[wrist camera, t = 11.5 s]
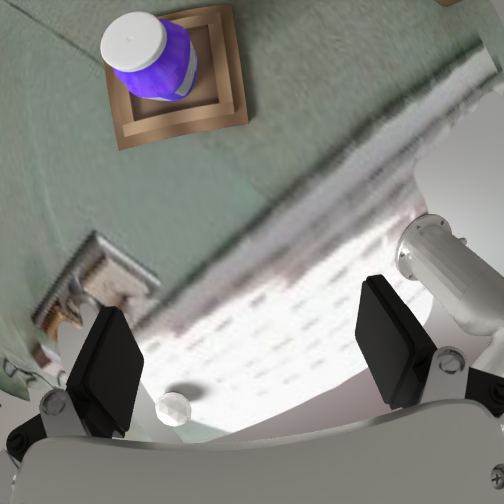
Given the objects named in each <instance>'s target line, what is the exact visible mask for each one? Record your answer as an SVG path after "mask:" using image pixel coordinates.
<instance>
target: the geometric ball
mask: <svg viewBox="0 0 504 504" xmlns="http://www.w3.org/2000/svg"><path fill="white" fill-rule="evenodd" d="M155 409H156V413H157V416H158V418H159V419H160V420H161V421H162V422H163V423H165V424H166V425H170V426H174V427H175V426H178V425H182V424H184V423H185V422H186V421H188V420H189V419H190V417H191V406H190V403H189V400H187V399H186V398H185V397H184V396H183V395H182V394H179V393H174V392H170V393H165V394H163V395H162V396H161V397H160V398H159V399H158V400H157V403H156V407H155Z"/></svg>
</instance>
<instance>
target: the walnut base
mask: <svg viewBox="0 0 504 504" xmlns="http://www.w3.org/2000/svg"><path fill="white" fill-rule="evenodd" d="M156 18H159V19H164V20H168V21H170V22H172V23H174V24H178V25H180V26H182V27H183V28H184V29H185V30H186V31H187V32H188V34H189V37H190V40H191V43H192V45H193V47H194V49H195V51H196V53H197V57H198V70H197V77H196V81H195V84H194V87H193V89H192V91H191V92H190V94H189V95H188V96H186V97H185V98H183V99H181V100H175V101H161V100H154V99H147V98H141V97H138V96H136V95H134V94H133V93H131V92H130V91H129V90H128V88H127V87H126V85H125V83H124V82H122V81H121V80H120V79H119V78H118V77H117V76H116V74H115V72H114V70H113V67H112V66H110V65H109V64H108V63H107V62H106V61H105V60H104V65H105V73H106V81H107V88H108V94H109V100H110V106H111V112H112V118H113V123H114V128H115V133H116V138H117V143H118V148H119V151H120V150H123V149H127V148H130V147H134V146H138V145H142V144H146V143H150V142H154V141H158V140H163V139H167V138H171V137H176V136H181V135H186V134H191V133H196V132H201V131H207V130H213V129H219V128H225V127H231V126H238V125H245V124H249V122H248V115H247V108H246V100H245V93H244V86H243V79H242V72H241V65H240V58H239V51H238V44H237V38H236V31H235V24H234V18H233V11H232V5H231V4H224V5H216V6H209V7H202V8H196V9H191V10H186V11H181V12H176V13H172V14H167V15H163V16H159V17H156ZM103 35H104V34H102V35H101V36H102V38H103Z"/></svg>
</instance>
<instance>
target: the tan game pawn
mask: <svg viewBox="0 0 504 504" xmlns="http://www.w3.org/2000/svg"><path fill="white" fill-rule="evenodd" d="M435 1H436V2H437V3H439V4H440V5H442V6H446V7H447V6H451V5H453V4H455V3H457V2H460V1H462V0H435Z"/></svg>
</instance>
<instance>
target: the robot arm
mask: <svg viewBox="0 0 504 504" xmlns="http://www.w3.org/2000/svg"><path fill="white" fill-rule="evenodd" d="M466 243H467V241H466V239H465V238H460V239H458V238H456V237H455V236H454V235H452V232H451V228H450V226H449V224H448V222H447V221H446V220H445V219H444V218H442V217H441V216H439V215H435V214H428V215H424V216H422V217H420V218H418V219H416V220H415V221H414V222H413V223H412V224H410V226H409V227H408V228H407V229H406V230H405V232H404V233H403V235H402V236H401V239H400V241H399V243H398V246H397V249H396V266H397V268H398V271H399V272H400V273H401V274H402V275H403V276H404V277H405V278H406V279H408V280H413V281H417V280H419V281H420V282H421V283H422V284H423V285H424V286H425V287H426V288H427V289H428V291H429V292H430V293H431V294H432V295H433V296H434V297H435V298H436V300H437V301H438V302H439V303H440V304H441V305H442V306H443V308H444V309H445V310H446V311H447V312H448V313H449V315H450V316H451V317H452V318H453V319H454V321H455V322H456V323H457V324H458V326H459V327H460V328H461V329H462V330H463V331H464V332H466V333H467V334H469V335H473V336H492V339H491V341H490V343H489V344H488V346H487V347H486V349H485V350H484V351H483V353H482V354H481V355H480V356H479V358H478V359H477V360H476V361H475V362H474V363H473V365H472V366H471V367H469V361H468V359H467V356H466V355H465V354H464V353H463V352H462V351H461V350H459V349H458V348H455V347H451V346H445V347H441V348H439V349H437V347H436V346H435V344H434V343H433V341H432V340H431V338H430V337H429V335H428V334H427V333H426V331H425V330H424V328H423V327H422V325H421V324H420V323H419V321H418V320H417V318H416V317H415V316H414V314H413V313H412V312H411V310H410V309H409V308H408V306H407V305H406V304H404V302H403V301H402V300H401V298H400V297H399V296H398V294H397V293H396V292H395V290H394V289H393V288H392V286H391V285H390V284H389V283H388V281H387V280H386V279H385V277H384V276H383V275H381V274H379V275H373V276H368V277H367V278H366V281H363V283H362V289H361V297H360V304H359V310H358V317H357V323H356V329H355V338H356V341H357V343H358V345H359V347H360V349H361V351H362V354H363V356H364V358H365V360H366V362H367V364H368V367H369V369H370V371H371V373H372V376H373V378H374V380H375V382H376V384H377V387H378V389H379V391H380V394H381V396H382V398H383V401H384V403H385V404H389V405H390V408H391V410H394V409H397V408H400V407H402V408H403V409H401V410H398V411H395V412H392V413H389V414H385V415H382V416H378V417H375V418H371V419H367V420H363V421H359V422H356V423H352V424H348V425H344V426H339V427H335V428H331V429H326V430H321V431H316V432H310V433H305V434H299V435H293V436H287V437H279V438H271V439H262V440H252V441H241V442H225V443H155V442H140V441H128V440H118V439H112V437H117V438H124V436H125V432H127V431H128V430H129V427H130V422H131V417H132V412H133V408H134V404H135V398H136V395H137V390H138V386H139V382H140V378H141V374H142V370H143V366H144V358H143V355H142V353H141V351H140V349H139V347H138V345H137V343H136V341H135V339H134V336H133V334H132V332H131V330H130V328H129V326H128V323H127V321H126V319H125V317H124V314H123V312H122V311H121V310H118V308H117V307H116V306H111V307H102V308H101V310H100V312H99V314H98V316H97V318H96V320H95V322H94V324H93V326H92V328H91V330H90V332H89V334H88V336H87V338H86V340H85V342H84V344H83V346H82V349H81V351H80V353H79V355H78V357H77V359H76V362H75V364H74V366H73V369H72V371H71V373H70V376H69V378H68V380H67V383H66V386H67V388H66V390H64V389H60V388H58V389H53V390H50V391H49V392H48V393H46V394H45V395H44V397H42V399H41V401H40V405H39V410H40V414H38V415H37V416H35V417H33V418H32V419H30V420H29V421H27V422H25V423H24V424H22V425H20V426H19V427H17V428H16V429H14V430H13V431H12V432H11V433H10V434H9V436H8V438H7V443H6V446H7V450H5V449H2V450H1V451H0V504H504V277H503V276H502V275H500V274H499V273H498V272H497V271H496V270H494V269H493V268H492V267H491V266H490V265H488V264H487V263H486V262H485V261H484V260H483V259H481V258H480V257H479V256H478V255H477V254H475V253H474V252H473V251H472V250H470V249H469V248H468V247H466V246H465V245H466Z"/></svg>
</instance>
